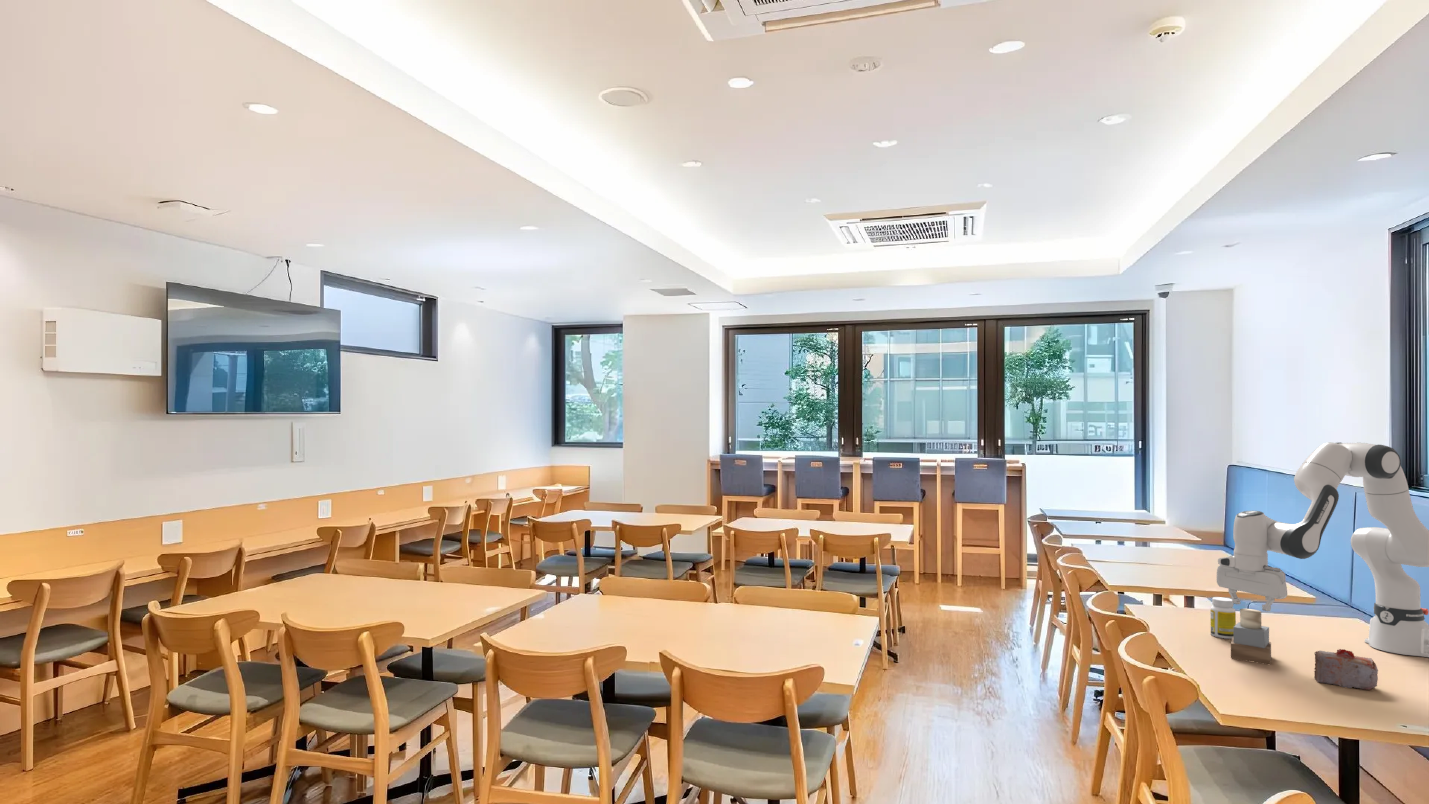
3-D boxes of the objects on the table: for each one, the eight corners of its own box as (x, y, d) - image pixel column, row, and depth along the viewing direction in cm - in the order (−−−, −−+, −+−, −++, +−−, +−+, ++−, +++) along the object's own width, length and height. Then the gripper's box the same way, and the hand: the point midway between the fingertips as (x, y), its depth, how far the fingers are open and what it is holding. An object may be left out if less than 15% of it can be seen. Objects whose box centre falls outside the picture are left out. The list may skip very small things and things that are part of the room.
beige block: (1247, 623, 247) (1247, 608, 247) (1265, 628, 242) (1265, 612, 242) (1236, 625, 245) (1236, 609, 245) (1253, 629, 240) (1253, 613, 240)
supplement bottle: (1240, 638, 265) (1240, 600, 265) (1226, 640, 263) (1226, 602, 263) (1219, 632, 272) (1219, 595, 272) (1205, 634, 269) (1205, 597, 270)
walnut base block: (1233, 652, 250) (1233, 636, 251) (1271, 658, 244) (1271, 642, 244) (1230, 659, 242) (1230, 643, 243) (1270, 665, 236) (1270, 649, 237)
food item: (1374, 685, 219) (1373, 650, 219) (1379, 694, 212) (1379, 657, 212) (1313, 676, 226) (1313, 642, 226) (1316, 684, 219) (1316, 649, 220)
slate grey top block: (1238, 637, 249) (1238, 622, 249) (1269, 643, 243) (1269, 627, 243) (1233, 643, 243) (1233, 626, 243) (1264, 648, 238) (1264, 632, 238)
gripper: (1292, 568, 235) (1292, 614, 235) (1226, 556, 254) (1227, 599, 254) (1277, 569, 233) (1278, 616, 233) (1212, 558, 252) (1213, 600, 252)
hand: (1251, 607), depth 244 cm, fingers open, 8 cm apart
